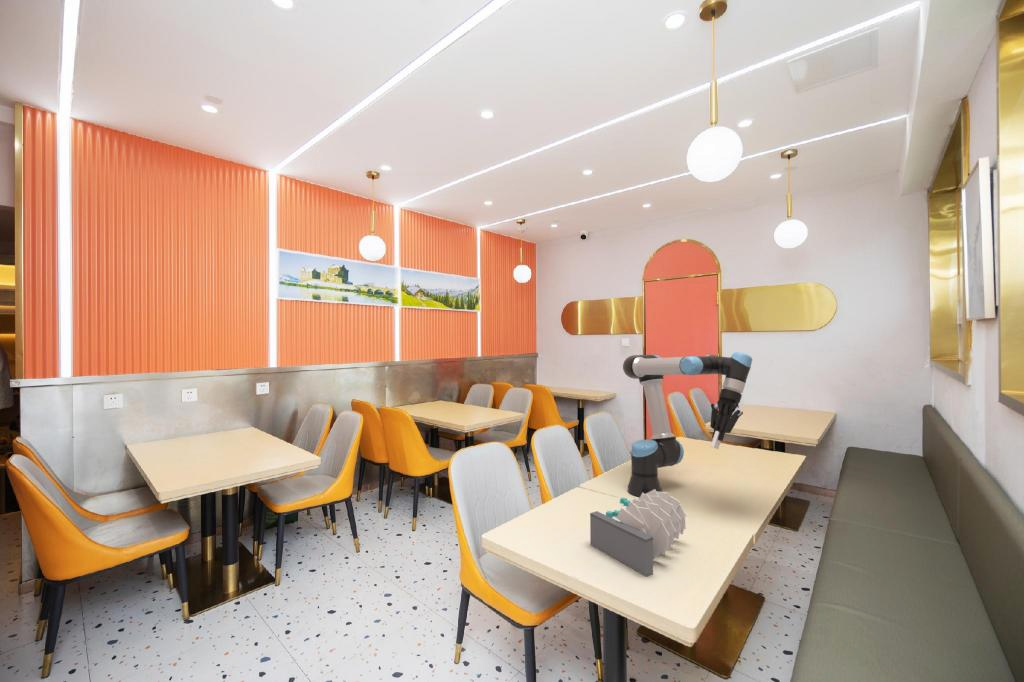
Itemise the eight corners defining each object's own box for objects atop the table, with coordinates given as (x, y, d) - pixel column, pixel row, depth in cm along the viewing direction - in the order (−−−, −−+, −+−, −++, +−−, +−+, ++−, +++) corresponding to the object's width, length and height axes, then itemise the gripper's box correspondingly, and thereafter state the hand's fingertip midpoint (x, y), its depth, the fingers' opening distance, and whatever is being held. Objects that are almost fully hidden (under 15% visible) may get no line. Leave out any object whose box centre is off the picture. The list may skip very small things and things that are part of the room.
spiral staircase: (676, 549, 152) (652, 576, 132) (632, 516, 162) (604, 537, 142) (699, 506, 148) (679, 527, 128) (653, 476, 158) (628, 491, 138)
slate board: (590, 544, 147) (590, 513, 147) (597, 542, 149) (597, 511, 149) (645, 576, 127) (645, 539, 127) (653, 573, 128) (653, 537, 129)
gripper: (752, 396, 167) (735, 455, 165) (723, 390, 179) (706, 445, 176) (741, 391, 164) (723, 450, 162) (712, 385, 175) (694, 440, 173)
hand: (714, 447), depth 169 cm, fingers closed
